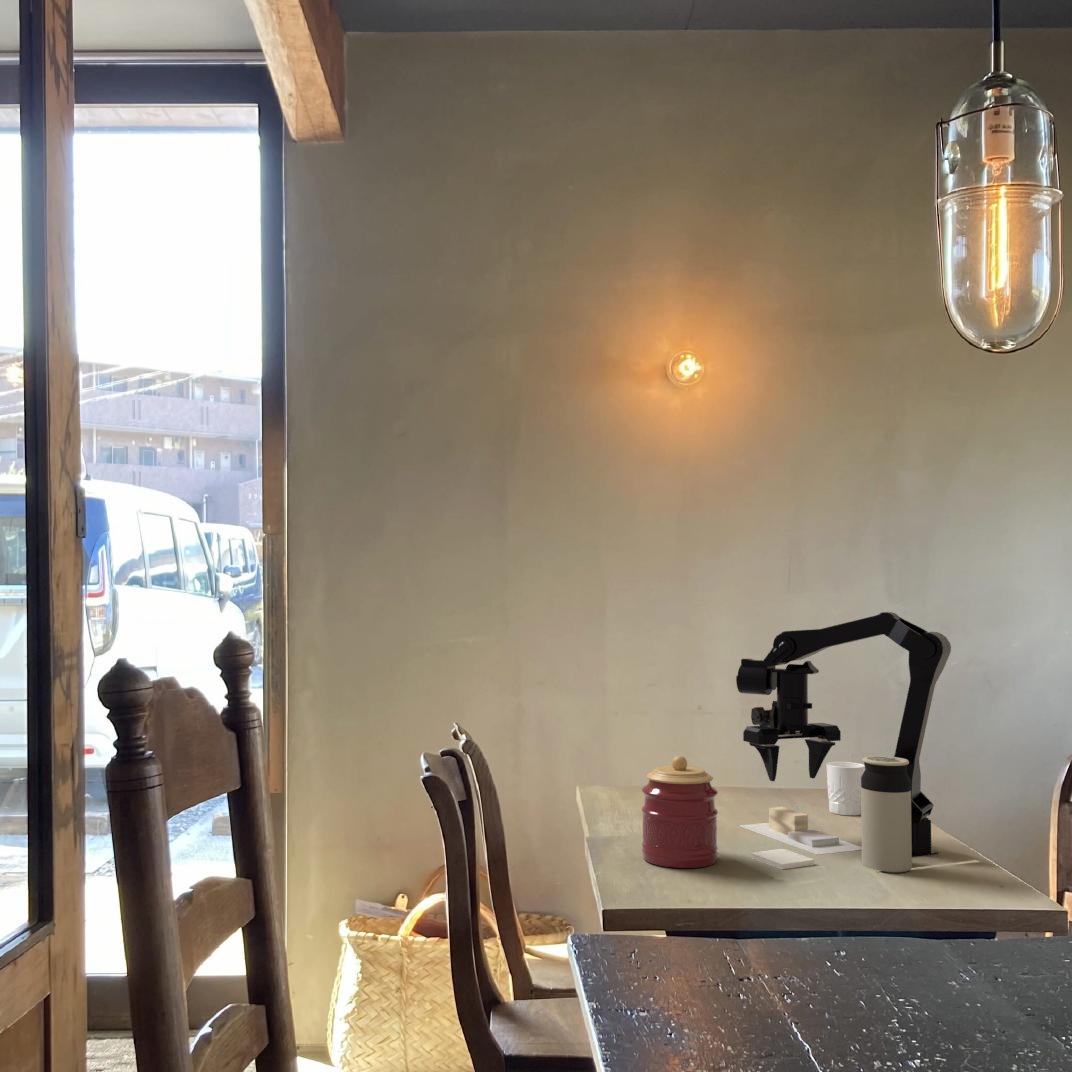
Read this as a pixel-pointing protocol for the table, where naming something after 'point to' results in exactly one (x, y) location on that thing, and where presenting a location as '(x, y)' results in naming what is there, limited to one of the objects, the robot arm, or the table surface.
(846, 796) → the white cup
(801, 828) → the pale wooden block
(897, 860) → the travel mug
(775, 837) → the mat
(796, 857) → the tile
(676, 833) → the canister
